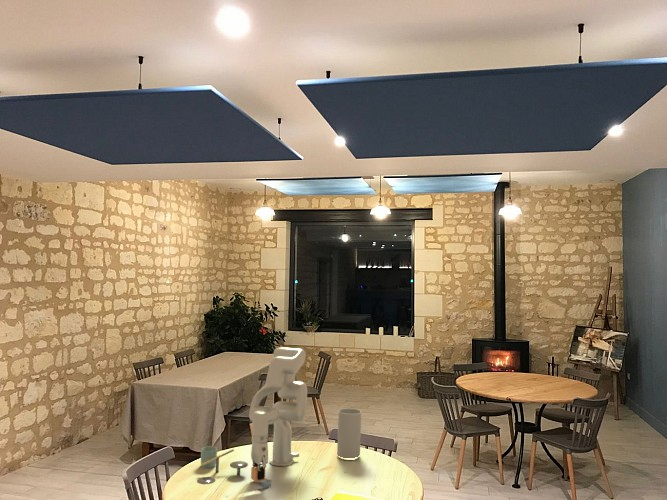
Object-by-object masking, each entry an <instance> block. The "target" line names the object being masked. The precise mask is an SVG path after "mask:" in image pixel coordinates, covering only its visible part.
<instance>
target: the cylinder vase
mask: <svg viewBox="0 0 667 500" xmlns="http://www.w3.org/2000/svg"><path fill="white" fill-rule="evenodd" d="M337 419H338V422H337V444H336V445H337V452H336V456H337V455H338V456H340V457H343V458H355V457H358V456H359V455H360V456H361V438H362V437H361V433H362V430H361V429H362V425H361V424H362V411H361V410H360V409H357V408H351V407H346V408H345V407H344V408H340V409H338V418H337Z"/></svg>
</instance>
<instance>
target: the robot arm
mask: <svg viewBox="0 0 667 500" xmlns="http://www.w3.org/2000/svg"><path fill="white" fill-rule="evenodd" d="M306 355H307V354H306V352H305V350H304V349H302V348H298V347H297V348H296V347H294V348H293V347H280V346H279V347H277V348H274V350H273V357H272V358H271V360H270V362H269V367H268V370H267V371H268V372H267V375H266V380H265V383H264V385H263V386H262V387H261V388H260V389H259V390H258V391H257V392H256V393H255V394H254V395H253V397H252V400H251V403H250V408H249V411H248V412H249V413H248V414H249V415H248V417H249V420H250V421H251V422H252V423H251V424H252V425H251V426H252V428H251V451H250V453H251V454H250V457H251V460H252V467H257V466H258V470H259V471H258V475H257V479H258V480H261V479H264V471H265V469H266V468H267V464H268V463H269V464H271V465H273V466H276V467H288V466H291V465H292V464H294V458H299V457H300V454H299V452H296V453H295V452H292V435H293V434H292V433H293V432H292V431H293V430H292V425H291V423H290V422H295V423H299V422H300V423H302V422H303V421H304V420H305V418H306V413H307V402H308V387H307V384H306V383H305V382H303V381H298V380H297V381H296V380H295V379H296V378H295V377H296V374H297V373H298V372H299V370H300V369H301V367H302V366H303V365H304V363H305V361H306V357H307V356H306ZM274 393H277V396H278V397H279V398H281V399H284V400H293V401H294V402H293V401H292V402H291V401H284V400H283V401H281V400H279V401H277V402H275V403H274V404H273V406H272V407H271V406H262V405H260V403H261V401H262V400H263V399H264V398H265V397H267V396H268V395H272V394H274ZM295 401H296V402H295ZM272 424H273V440H272V441H273V442H272V457H271V458H270V459H269V447H268V446H269V445H268V441H269V439H268V437H269V425H272ZM260 466H261V468H260ZM265 472H266V471H265Z"/></svg>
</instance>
